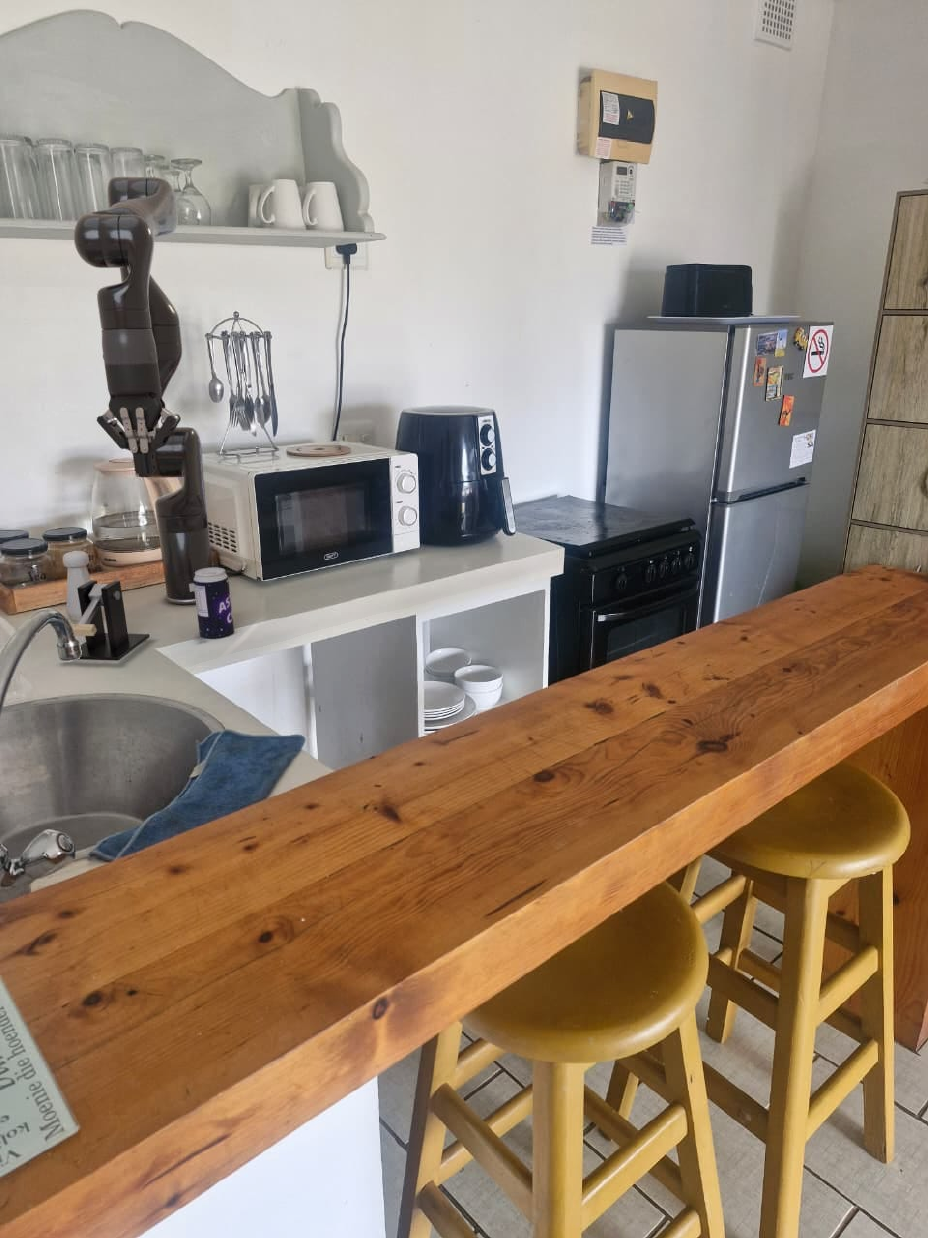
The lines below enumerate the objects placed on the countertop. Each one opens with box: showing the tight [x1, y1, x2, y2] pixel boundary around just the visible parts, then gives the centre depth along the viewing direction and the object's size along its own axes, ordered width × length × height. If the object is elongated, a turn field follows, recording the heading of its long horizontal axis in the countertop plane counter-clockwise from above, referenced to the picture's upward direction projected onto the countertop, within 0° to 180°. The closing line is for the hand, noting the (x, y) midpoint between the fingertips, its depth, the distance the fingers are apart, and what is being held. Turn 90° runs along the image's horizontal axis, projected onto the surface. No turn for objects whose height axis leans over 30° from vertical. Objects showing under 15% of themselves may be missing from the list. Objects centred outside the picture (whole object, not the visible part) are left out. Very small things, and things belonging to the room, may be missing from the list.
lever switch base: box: [77, 579, 150, 661], centre depth 142 cm, size 11×9×12 cm
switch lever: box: [70, 583, 109, 637], centre depth 138 cm, size 10×4×2 cm, turn 174°
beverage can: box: [193, 567, 235, 640], centre depth 148 cm, size 6×6×12 cm
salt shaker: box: [62, 550, 92, 622], centre depth 157 cm, size 6×6×13 cm
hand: (146, 476), depth 135 cm, fingers closed
